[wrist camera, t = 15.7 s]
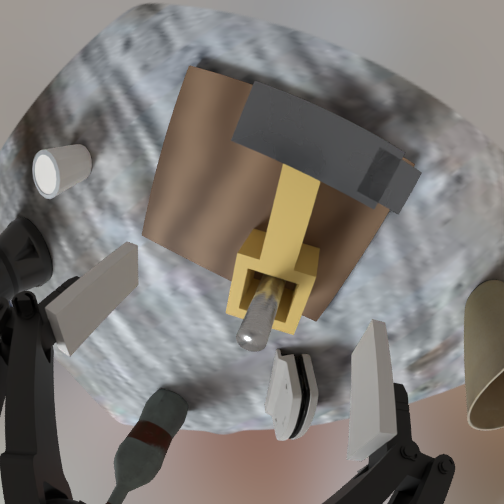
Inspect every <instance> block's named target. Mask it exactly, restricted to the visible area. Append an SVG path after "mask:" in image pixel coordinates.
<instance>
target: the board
mask: <svg viewBox="0 0 504 504" xmlns="http://www.w3.org/2000/svg"><path fill="white" fill-rule="evenodd" d="M252 86H253V85H252V84H249V83H246V82H243V81H240V80H237V79H234V78H231V77H228V76H224V75H221V74H218V73H215V72H211V71H208V70H204V69H200V68H197V67H193V66H189V67H188V70H187V73H186V76H185V78H184V81H183V84H182V87H181V90H180V92H179V95H178V98H177V101H176V104H175V107H174V110H173V114H172V117H171V120H170V123H169V126H168V130H167V133H166V136H165V140H164V143H163V147H162V151H161V154H160V158H159V162H158V165H157V169H156V173H155V177H154V181H153V185H152V189H151V194H150V198H149V203H148V207H147V212H146V216H145V221H144V226H143V231H142V236H144V237H146V238H148V239H150V240H152V241H154V242H155V243H157V244H159V245H161V246H163V247H165V248H167V249H169V250H171V251H173V252H175V253H177V254H178V255H180V256H182V257H184V258H186V259H188V260H190V261H192V262H194V263H196V264H198V265H200V266H202V267H204V268H206V269H208V270H210V271H212V272H214V273H216V274H218V275H220V276H222V277H224V278H226V279H228V280H230V281H232V278H233V273H234V267H235V262H236V257H237V253H238V251H239V250H240V248H241V247H242V245H243V244H244V242H245V241H246V239H247V238H248V236H249V235H250V233H251V232H252V230H253V229H257V230H260V231H263V232H267V228H268V224H269V220H270V216H271V212H272V208H273V204H274V199H275V195H276V191H277V187H278V183H279V179H280V174H281V170H282V166H283V163H281V162H279V161H277V160H275V159H272V158H270V157H268V156H266V155H263V154H261V153H259V152H256V151H254V150H252V149H249V148H247V147H245V146H242V145H240V144H237V143H235V142H233V141H231V139H232V136H233V134H234V131H235V129H236V126H237V123H238V121H239V118H240V116H241V113H242V111H243V108H244V106H245V103H246V101H247V98H248V96H249V94H250V91H251V89H252ZM402 160H404V161H405V162H407V163H408V164H410V165H411V166H413V167H414V165H415V164H414V163H412V162H410V161H409V160H407V159H406V158H404V157H403V158H402ZM389 210H390V209H388V208H386V207H385V206H383V205H381V204H379V203H378V204H377V206H376V207H375V209H372V208H370V207H368V206H366V205H365V204H363V203H361V202H359V201H357V200H355V199H354V198H352V197H350V196H348V195H346V194H344V193H342V192H340V191H338V190H337V189H335V188H333V187H331V186H329V185H327V184H325V183H323V182H320V185H319V189H318V192H317V195H316V199H315V202H314V206H313V209H312V213H311V216H310V219H309V223H308V226H307V229H306V232H305V236H304V239H303V242H302V243H303V244H307V245H310V246H313V247H316V248H320V251H319V259H318V268H317V275H316V279H315V282H314V285H313V287H312V290H311V292H310V295H309V298H308V300H307V303H306V305H305V308H304V310H303V313H302V315H303V316H305V317H307V318H309V319H312V320H314V321H317V320H318V319H319V317H320V316H321V314H322V313H323V312H324V310H325V309H326V308H327V306H328V305H329V303H330V302H331V301H332V299H333V298H334V296H335V295H336V293H337V292H338V290H339V289H340V288H341V286H342V285H343V283H344V282H345V280H346V279H347V277H348V276H349V274H350V273H351V271H352V270H353V268H354V267H355V265H356V264H357V262H358V261H359V259H360V258H361V256H362V254H363V253H364V251H365V250H366V248H367V247H368V245H369V243H370V242H371V240H372V239H373V237H374V235H375V234H376V232H377V231H378V229H379V227H380V226H381V224H382V222H383V221H384V219H385V217H386V216H387V214H388V212H389ZM263 274H264V273H261V272H258V271H255V273H254V279H257V280H260V281H261V279H262V276H263ZM295 285H296V283H294V282H290V281H287V280H286V283H285V287H284V288H286V289H289V290H293V291H294V288H295Z"/></svg>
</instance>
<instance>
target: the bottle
mask: <svg viewBox="0 0 504 504" xmlns="http://www.w3.org/2000/svg"><path fill="white" fill-rule="evenodd" d="M187 411H188V405H187V403H186V401H185V400H184V399H183V398H181V397H180V396H179V395H177V394H175V393H174V392H171V391H169V390H165V389H159V390H158V391H156V392H155V393H154V394H153V395H152V396H151V397H150V398H149V400H148V401H147V402H146V404H145V407H144V409H143V411H142V414H141V416H140V419H139V421H138V422H137V424H136V425H135V426H134V428H133V429H132V430H131V432H130V433H129V434H128V436H127V437H126V439H125V440H124V441H123V442H122V443H121V445H120V446H119V448H118V451H117V453H116V455H115V458H114V469H115V478H116V487H115V489H114V490H113V492H112V494H111V496H110V498H109V500H108V501H107V503H106V504H122V502H123V500H124V499H125V497H126V495H127V493H128V492H129V491H131V490H134V489H136V488H138V487H140V486H143V485H145V484H147V483H149V482H150V481H151V480H152V479H153V478H154V477H155V475H156V474H157V473H158V471H159V470H160V469H161V466H162V463H163V460H164V458H165V455H166V453H167V450H168V448H169V445H170V443H171V441H172V439H173V437H174V436H175V434H176V433H177V432H178V431H179V429H180V428H181V426H182V425H183V423H184V421H185V418H186V415H187Z"/></svg>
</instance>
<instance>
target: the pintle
mask: <svg viewBox="0 0 504 504" xmlns="http://www.w3.org/2000/svg"><path fill="white" fill-rule="evenodd" d="M285 283H286V280H284V279H281V278H277V277H274V276H271V275H268V274H263V276H262V279H261V281H260V283H259V285H258V288H257V290H256V292H255V295H254V297H253V299H252V301H251V304H250V306H249V308H248V310H247V313H246V315H245V317H244V319H243V321H242V324H241V326H240V328H239V330H238V333H237V335H236V340H237V342H238V344H239V345H240V346H241V347H242V348H244V349H246V350H248V351H253V352H257V351H261V350H263V349H264V348H265V347H266V344H267V341H268V338H269V335H270V332H271V329H272V325H273V322H274V319H275V316H276V313H277V309H278V306H279V303H280V300H281V296H282V293H283V290H284V287H285Z"/></svg>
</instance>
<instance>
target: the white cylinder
mask: <svg viewBox="0 0 504 504" xmlns="http://www.w3.org/2000/svg"><path fill="white" fill-rule="evenodd" d="M91 168H92V159H91V156H90V153H89V151H88V150H87V148H86V147H85V146H83V145H81V144H76V145H69V146H62V147H56V148H50V149H44V150H40V151H39V152H38V153H37V154H36V156H35V158H34V160H33V167H32V172H33V179H34V182H35V185H36V188H37V189H38V191H39V193H40V194H41V195H42V196H43V197H45V198H47V199H52V198H53V197H55V196H57V195H58V194H60V193H62V192H63V191H65V190H67V189H69V188H70V187H72V186H74V185H76V184H77V183H79V182H81V181H83V180H85V179H86V178H88V176H89V175H90V173H91Z"/></svg>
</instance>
